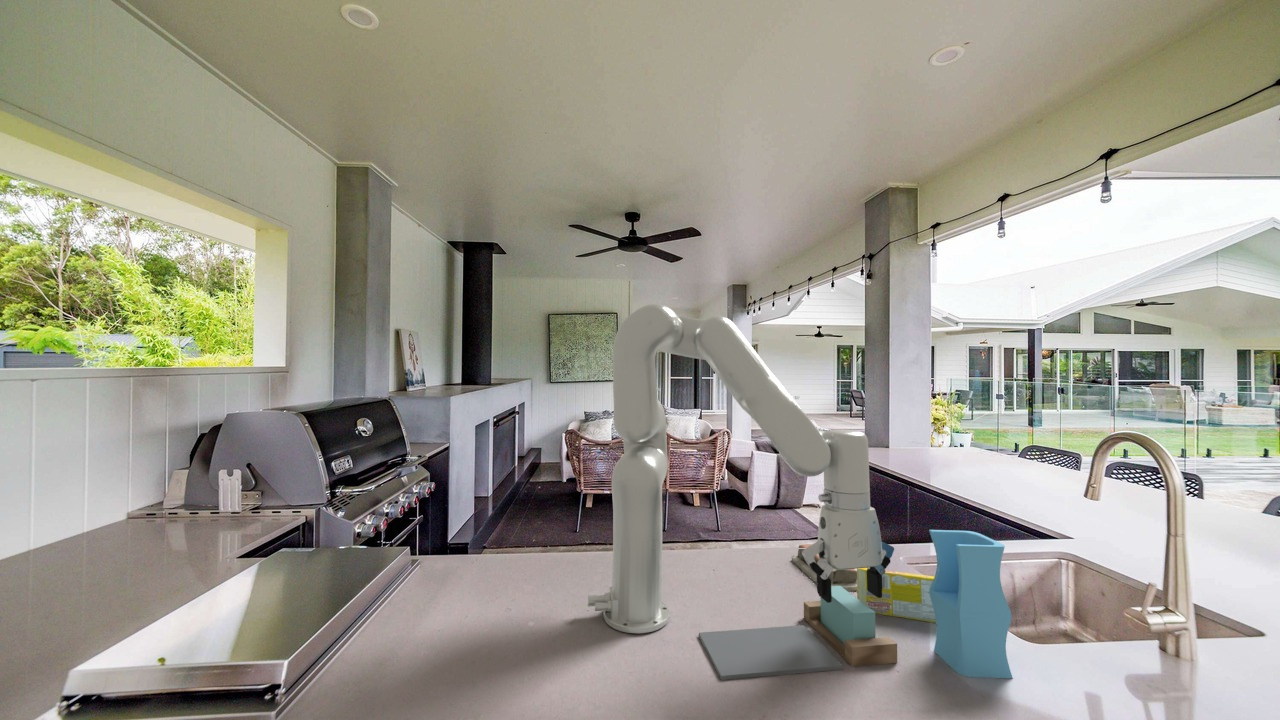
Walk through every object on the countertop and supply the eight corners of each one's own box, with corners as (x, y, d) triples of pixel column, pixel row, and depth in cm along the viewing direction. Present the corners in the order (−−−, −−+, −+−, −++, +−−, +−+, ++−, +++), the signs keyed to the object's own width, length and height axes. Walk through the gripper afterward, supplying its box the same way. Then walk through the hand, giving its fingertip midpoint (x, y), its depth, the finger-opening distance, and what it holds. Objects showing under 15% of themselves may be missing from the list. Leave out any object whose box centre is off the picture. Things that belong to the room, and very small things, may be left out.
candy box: (949, 621, 88) (948, 577, 88) (952, 626, 86) (952, 581, 86) (856, 606, 93) (856, 565, 93) (858, 611, 91) (857, 569, 91)
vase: (930, 647, 79) (928, 529, 80) (976, 648, 78) (974, 530, 79) (961, 676, 71) (958, 545, 72) (1012, 678, 70) (1009, 547, 71)
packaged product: (790, 542, 117) (826, 541, 118) (790, 561, 117) (826, 560, 118) (826, 571, 99) (869, 570, 100) (826, 594, 99) (869, 592, 100)
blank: (853, 656, 76) (853, 613, 76) (820, 624, 85) (820, 586, 86) (875, 654, 76) (875, 612, 77) (840, 623, 86) (840, 585, 86)
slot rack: (852, 666, 73) (852, 647, 73) (803, 617, 88) (803, 601, 88) (897, 662, 74) (897, 643, 74) (841, 615, 89) (841, 599, 89)
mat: (721, 680, 69) (721, 675, 69) (698, 636, 81) (698, 632, 81) (842, 669, 72) (842, 665, 72) (803, 628, 84) (803, 625, 84)
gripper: (813, 507, 77) (816, 611, 76) (905, 502, 80) (908, 602, 79) (791, 496, 84) (794, 591, 83) (876, 492, 87) (879, 584, 86)
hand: (850, 596), depth 81 cm, fingers open, 9 cm apart
